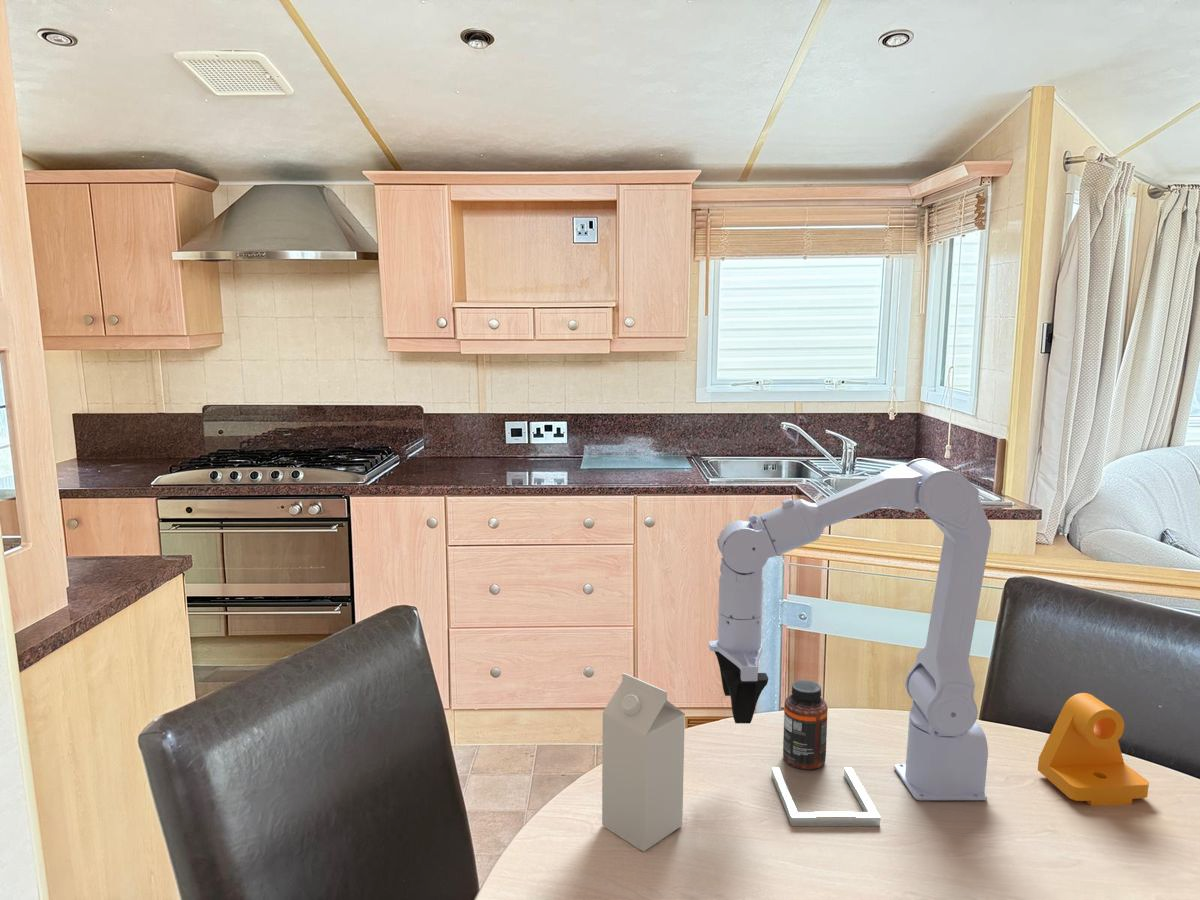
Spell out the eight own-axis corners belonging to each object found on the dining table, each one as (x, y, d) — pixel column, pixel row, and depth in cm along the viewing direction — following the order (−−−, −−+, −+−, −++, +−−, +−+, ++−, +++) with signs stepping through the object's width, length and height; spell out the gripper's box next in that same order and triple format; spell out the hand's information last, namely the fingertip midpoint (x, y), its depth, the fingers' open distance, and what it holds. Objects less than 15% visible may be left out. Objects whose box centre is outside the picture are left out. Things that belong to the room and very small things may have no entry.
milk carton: (640, 802, 102) (642, 664, 99) (682, 826, 97) (686, 682, 94) (601, 826, 97) (602, 681, 94) (644, 853, 92) (646, 701, 89)
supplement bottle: (821, 750, 115) (825, 677, 113) (829, 773, 109) (833, 696, 107) (779, 747, 115) (782, 675, 114) (785, 770, 109) (788, 694, 108)
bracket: (1072, 807, 102) (1081, 720, 100) (1037, 775, 109) (1045, 694, 107) (1150, 803, 102) (1161, 717, 100) (1110, 772, 109) (1119, 691, 108)
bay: (851, 775, 108) (851, 767, 108) (879, 826, 97) (880, 816, 97) (771, 775, 108) (771, 767, 108) (791, 826, 97) (791, 816, 97)
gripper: (702, 593, 111) (700, 683, 113) (718, 633, 97) (716, 735, 99) (751, 593, 111) (748, 683, 113) (775, 633, 97) (771, 735, 99)
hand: (737, 708), depth 106 cm, fingers open, 7 cm apart
